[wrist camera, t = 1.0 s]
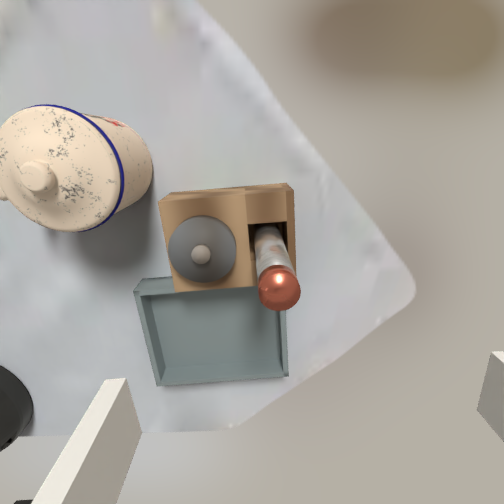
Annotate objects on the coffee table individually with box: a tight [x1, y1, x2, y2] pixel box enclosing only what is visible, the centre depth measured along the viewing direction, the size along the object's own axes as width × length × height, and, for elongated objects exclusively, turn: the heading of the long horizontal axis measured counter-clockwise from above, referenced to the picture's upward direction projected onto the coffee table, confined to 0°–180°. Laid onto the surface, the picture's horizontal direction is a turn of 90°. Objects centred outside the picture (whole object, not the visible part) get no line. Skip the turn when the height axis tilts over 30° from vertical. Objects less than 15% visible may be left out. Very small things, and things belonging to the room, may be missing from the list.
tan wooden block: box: [158, 183, 296, 292], centre depth 29 cm, size 12×9×7 cm
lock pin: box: [253, 222, 301, 311], centre depth 25 cm, size 3×3×14 cm
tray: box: [133, 277, 289, 386], centre depth 35 cm, size 16×13×3 cm
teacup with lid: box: [0, 105, 152, 232], centre depth 25 cm, size 12×9×12 cm
